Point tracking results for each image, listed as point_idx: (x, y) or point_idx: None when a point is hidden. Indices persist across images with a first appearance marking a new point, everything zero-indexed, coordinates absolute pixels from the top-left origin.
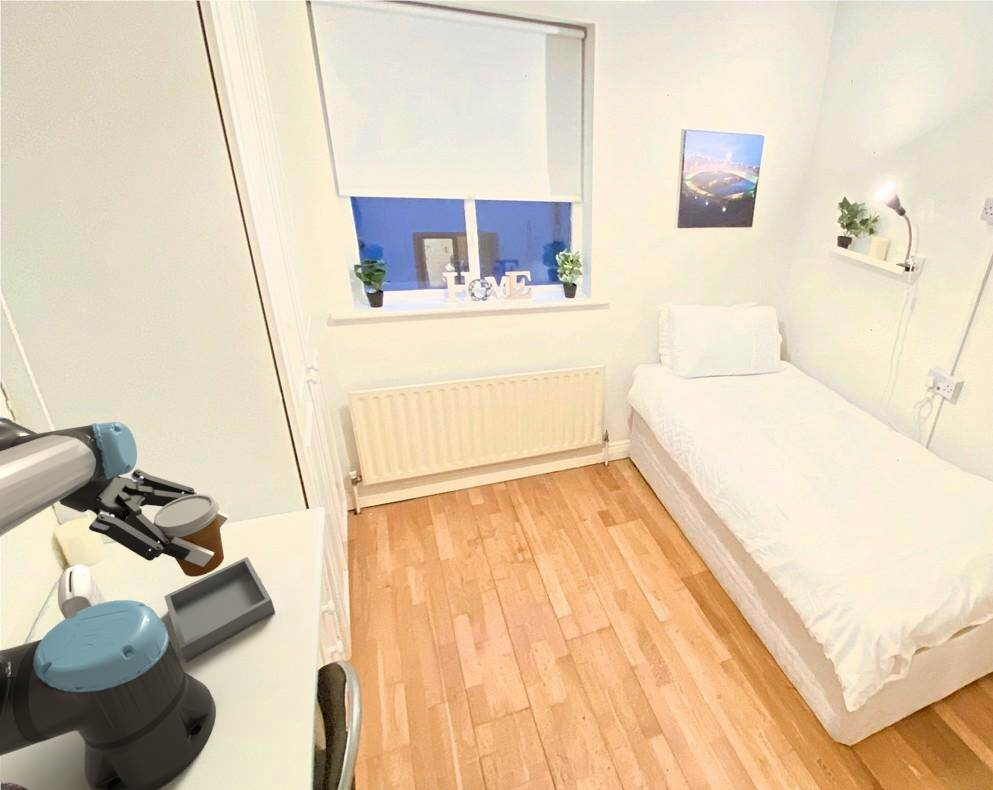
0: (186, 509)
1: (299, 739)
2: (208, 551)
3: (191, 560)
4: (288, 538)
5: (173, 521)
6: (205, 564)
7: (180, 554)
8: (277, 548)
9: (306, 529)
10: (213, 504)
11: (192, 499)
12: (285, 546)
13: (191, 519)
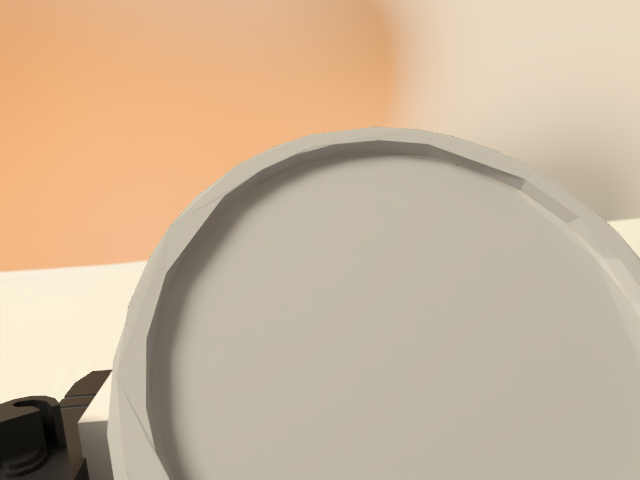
0: (382, 335)
1: (625, 227)
2: None
3: None
4: (38, 345)
5: (576, 391)
6: None
7: None
8: (76, 372)
9: (19, 296)
10: (355, 130)
11: (196, 342)
12: (78, 347)
13: (533, 239)
